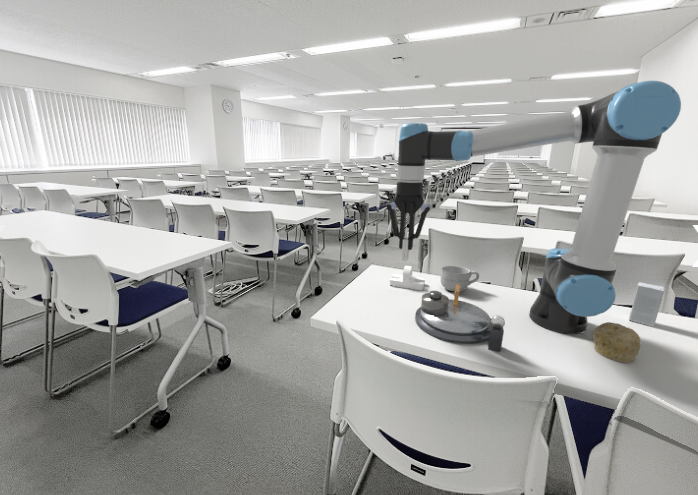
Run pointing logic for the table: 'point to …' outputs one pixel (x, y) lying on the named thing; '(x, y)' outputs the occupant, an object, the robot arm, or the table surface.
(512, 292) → the table surface
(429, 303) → the cover
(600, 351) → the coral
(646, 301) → the skincare box
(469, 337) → the turntable base
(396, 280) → the slotted bracket
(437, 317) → the turntable
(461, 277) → the teacup
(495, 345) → the dark bottle
